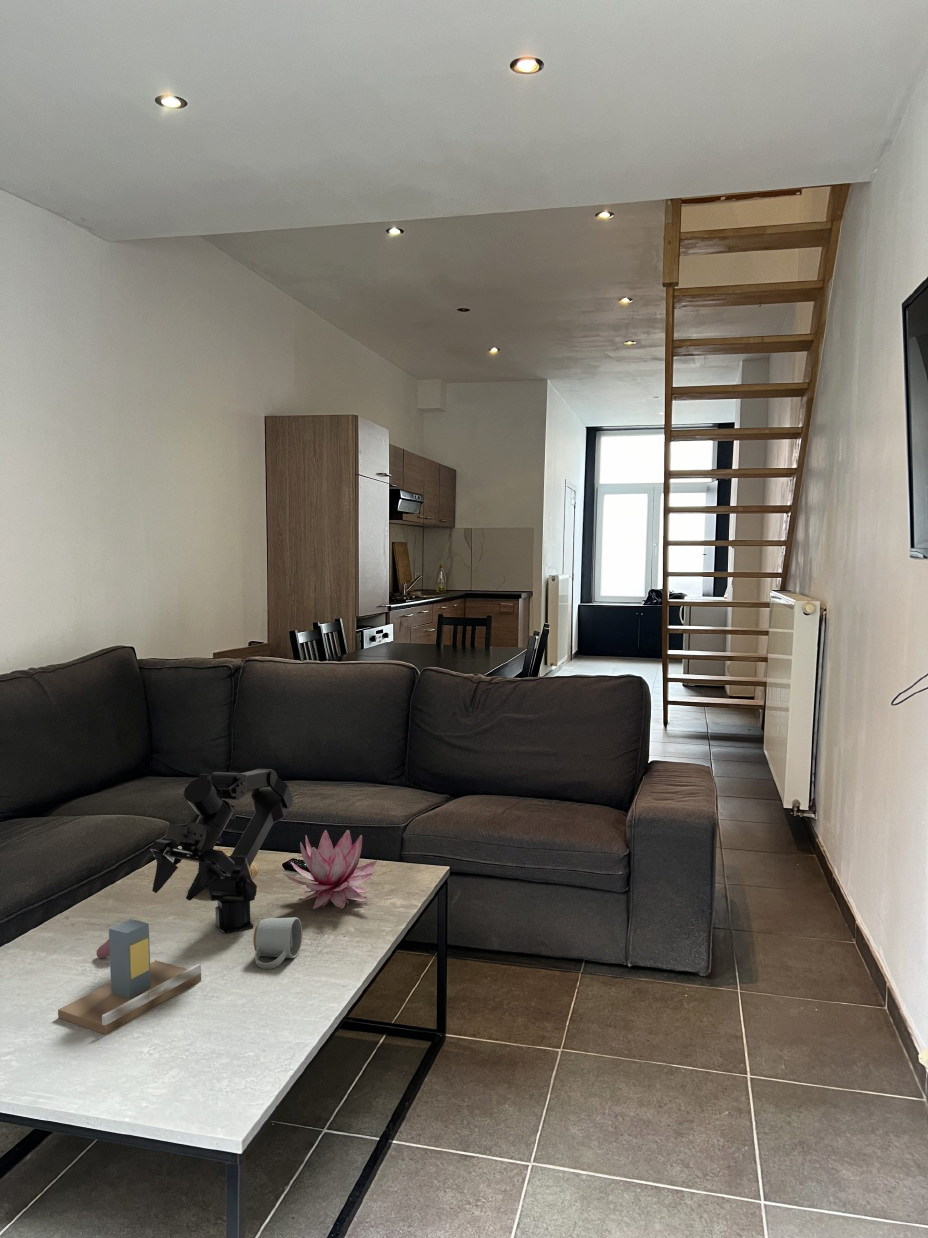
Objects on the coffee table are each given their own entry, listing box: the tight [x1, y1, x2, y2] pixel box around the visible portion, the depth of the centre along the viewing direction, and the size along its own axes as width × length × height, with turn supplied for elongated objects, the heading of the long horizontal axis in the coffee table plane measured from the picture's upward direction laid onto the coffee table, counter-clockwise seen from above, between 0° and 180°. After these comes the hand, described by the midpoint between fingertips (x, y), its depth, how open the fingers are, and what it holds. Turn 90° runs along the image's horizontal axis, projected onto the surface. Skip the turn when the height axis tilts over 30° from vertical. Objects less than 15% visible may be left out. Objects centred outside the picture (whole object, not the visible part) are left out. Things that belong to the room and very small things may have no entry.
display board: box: [57, 959, 202, 1035], centre depth 163 cm, size 22×12×3 cm, turn 151°
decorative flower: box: [284, 829, 379, 910], centre depth 210 cm, size 21×21×15 cm
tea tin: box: [108, 918, 151, 999], centre depth 163 cm, size 5×5×12 cm
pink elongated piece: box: [96, 938, 110, 959], centre depth 184 cm, size 10×5×7 cm, turn 170°
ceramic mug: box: [252, 916, 303, 970], centre depth 179 cm, size 11×8×8 cm
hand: (170, 896), depth 177 cm, fingers open, 9 cm apart
